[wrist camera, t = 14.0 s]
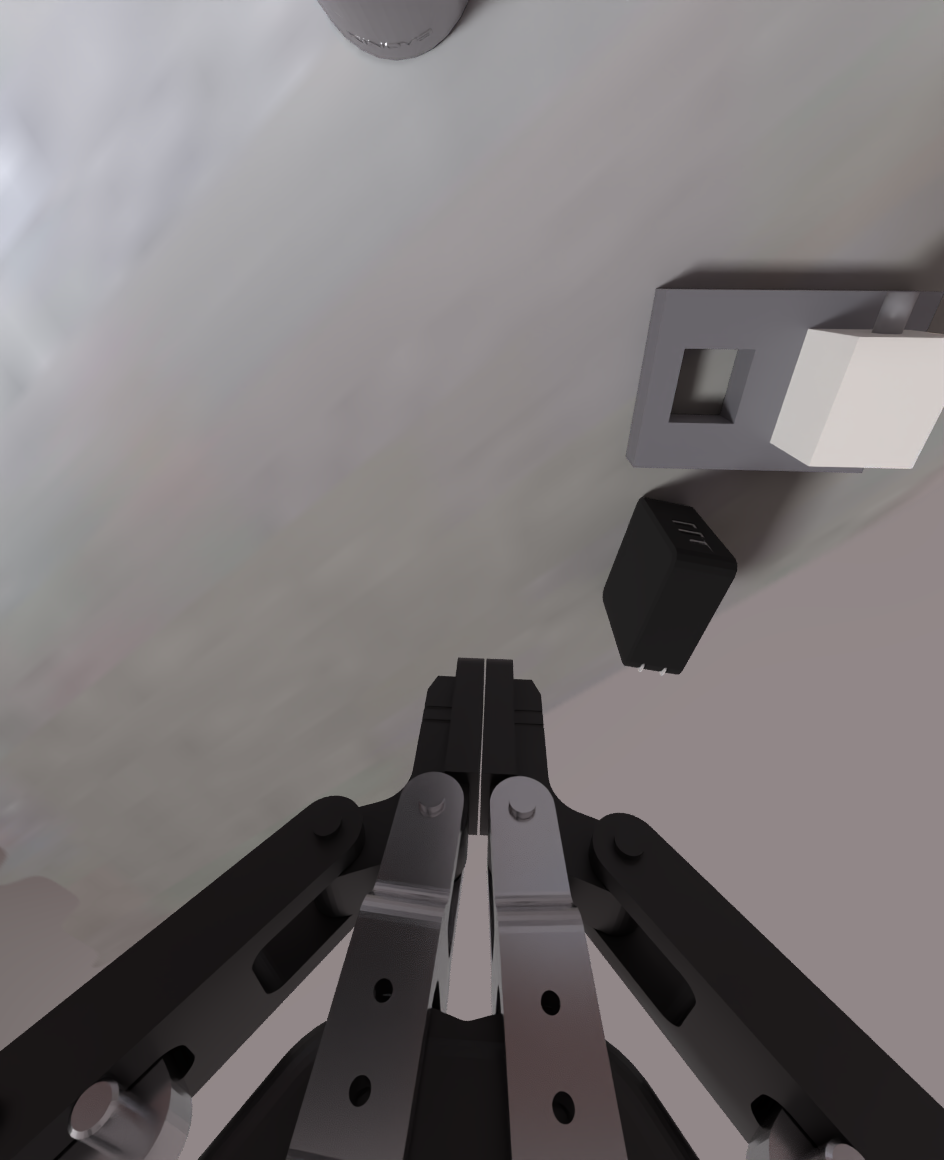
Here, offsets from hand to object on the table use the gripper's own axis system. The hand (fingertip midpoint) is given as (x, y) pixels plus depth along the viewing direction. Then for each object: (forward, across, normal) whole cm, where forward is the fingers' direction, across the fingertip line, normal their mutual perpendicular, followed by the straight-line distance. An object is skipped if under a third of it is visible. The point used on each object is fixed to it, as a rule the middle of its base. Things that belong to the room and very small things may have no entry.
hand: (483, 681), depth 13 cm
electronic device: (+27, -13, +10) cm, 32 cm away
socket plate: (+27, -18, -4) cm, 33 cm away
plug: (+26, -22, -4) cm, 35 cm away
